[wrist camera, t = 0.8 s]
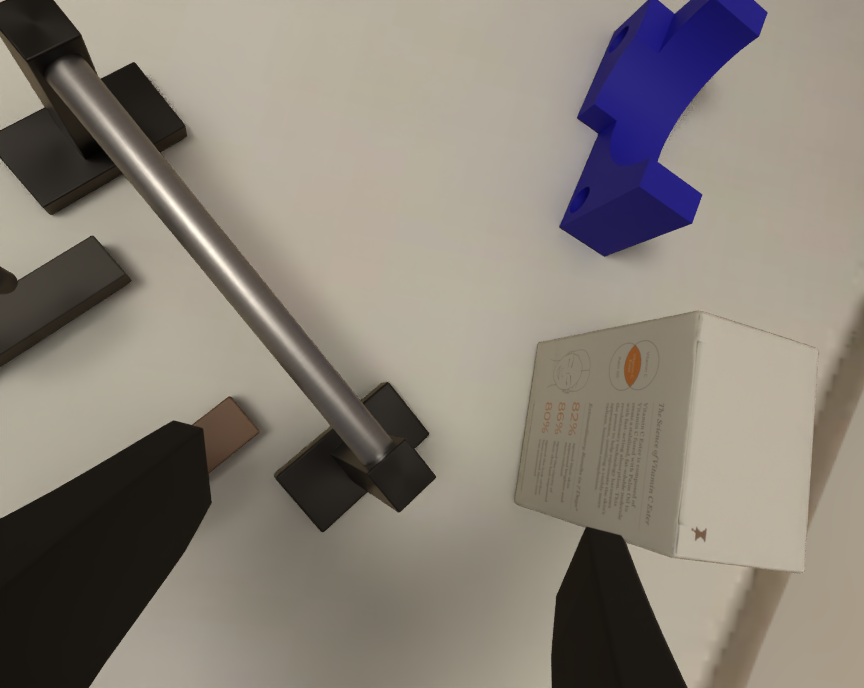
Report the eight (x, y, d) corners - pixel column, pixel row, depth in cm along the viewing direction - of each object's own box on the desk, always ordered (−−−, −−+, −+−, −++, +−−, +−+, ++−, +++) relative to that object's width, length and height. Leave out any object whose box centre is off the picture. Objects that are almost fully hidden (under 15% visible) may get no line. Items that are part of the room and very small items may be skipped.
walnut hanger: (68, 583, 21) (-1, 664, 14) (33, 546, 20) (-53, 613, 14) (258, 429, 23) (269, 441, 17) (229, 395, 23) (230, 395, 17)
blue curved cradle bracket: (614, 31, 31) (699, -49, 26) (674, 78, 33) (767, 12, 27) (536, 211, 29) (611, 166, 23) (604, 256, 30) (692, 223, 24)
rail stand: (319, 528, 24) (358, 584, 17) (-7, 149, 21) (-127, 22, 14) (423, 433, 26) (498, 446, 18) (138, 74, 23) (97, -72, 16)
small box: (607, 518, 28) (808, 582, 19) (509, 503, 27) (674, 565, 17) (627, 363, 30) (827, 345, 20) (535, 338, 28) (703, 306, 18)
